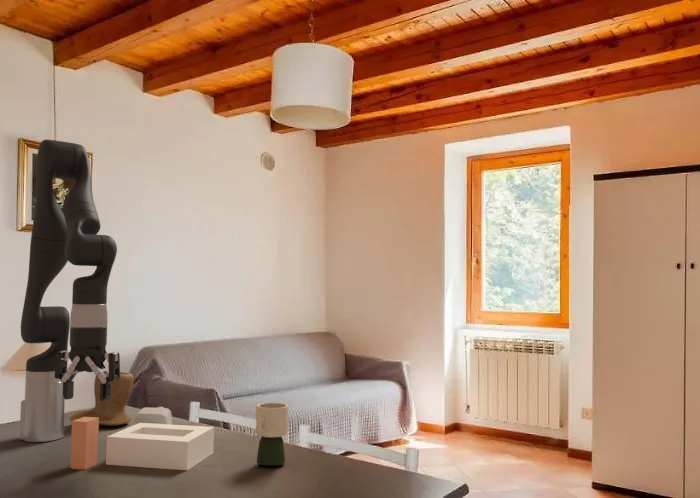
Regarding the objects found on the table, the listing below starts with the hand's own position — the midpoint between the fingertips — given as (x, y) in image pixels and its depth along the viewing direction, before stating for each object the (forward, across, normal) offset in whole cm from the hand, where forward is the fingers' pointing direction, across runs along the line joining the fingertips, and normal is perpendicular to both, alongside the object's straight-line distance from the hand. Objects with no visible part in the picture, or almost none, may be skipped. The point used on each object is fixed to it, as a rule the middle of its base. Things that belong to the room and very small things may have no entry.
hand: (86, 399), depth 136 cm
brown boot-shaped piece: (+14, -18, +37) cm, 44 cm away
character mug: (+15, +39, +10) cm, 43 cm away
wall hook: (+14, +5, +24) cm, 29 cm away
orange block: (+14, 0, 0) cm, 14 cm away
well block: (+14, +13, +9) cm, 22 cm away
